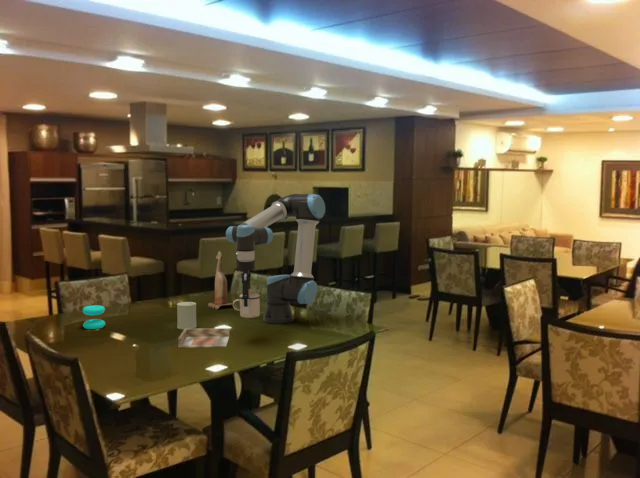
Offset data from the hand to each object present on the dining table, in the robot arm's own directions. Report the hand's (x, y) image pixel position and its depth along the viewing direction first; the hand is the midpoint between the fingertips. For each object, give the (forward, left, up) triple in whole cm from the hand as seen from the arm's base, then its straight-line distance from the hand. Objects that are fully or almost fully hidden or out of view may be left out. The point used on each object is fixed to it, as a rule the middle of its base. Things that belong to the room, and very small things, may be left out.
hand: (246, 311), depth 266 cm
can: (+30, -27, -14) cm, 43 cm away
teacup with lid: (0, 0, -2) cm, 2 cm away
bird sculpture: (+18, -74, -14) cm, 77 cm away
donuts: (+74, -28, -14) cm, 80 cm away
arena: (+18, +1, -13) cm, 23 cm away
